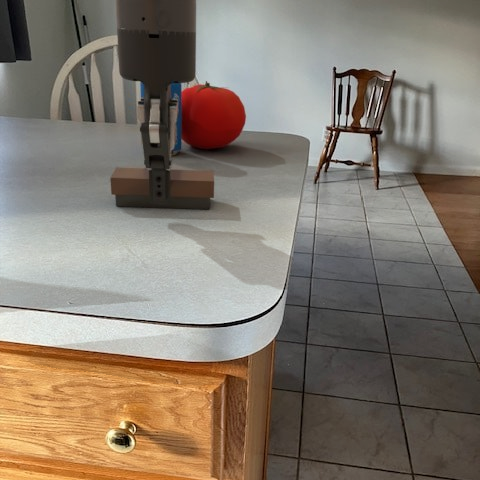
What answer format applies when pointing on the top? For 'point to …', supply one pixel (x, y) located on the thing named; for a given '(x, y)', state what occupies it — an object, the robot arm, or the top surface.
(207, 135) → the tomato
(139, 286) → the top surface
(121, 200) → the scrub brush
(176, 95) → the beverage can
